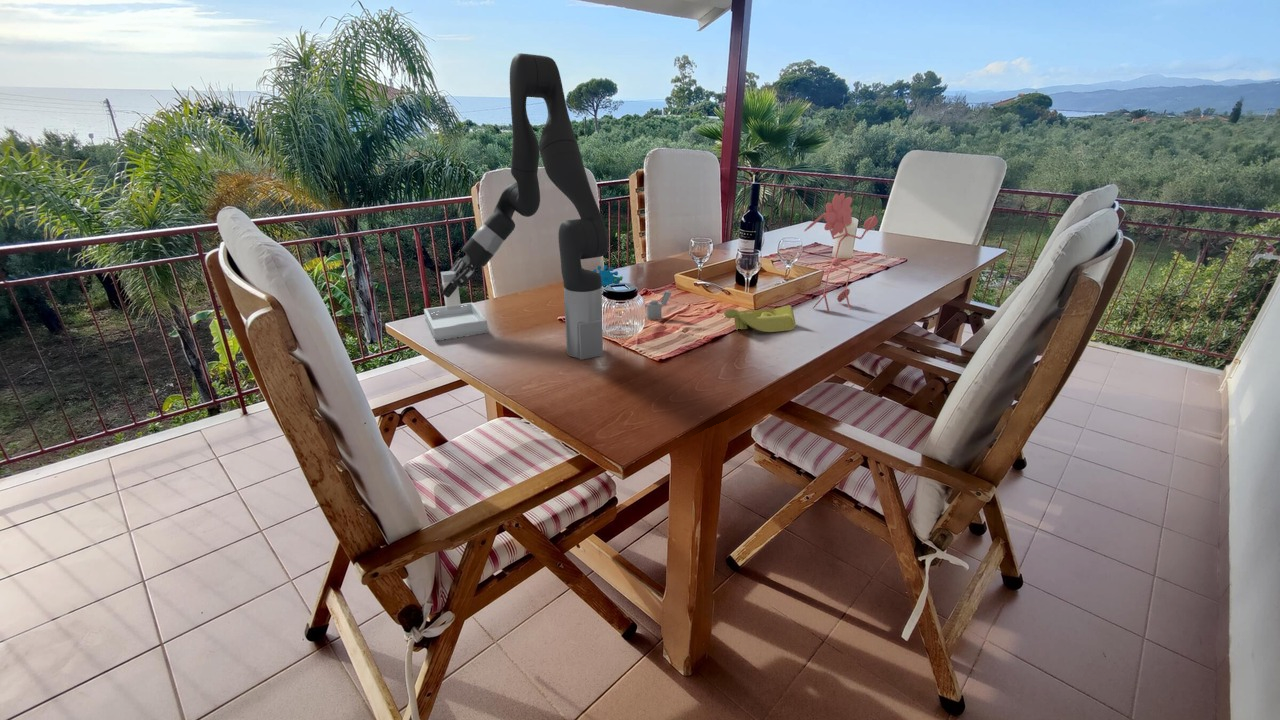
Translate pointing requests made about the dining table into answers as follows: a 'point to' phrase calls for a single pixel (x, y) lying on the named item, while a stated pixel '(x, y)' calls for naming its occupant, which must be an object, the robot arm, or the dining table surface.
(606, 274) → the blue irregular piece
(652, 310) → the lighter
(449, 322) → the parts tray
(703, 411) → the dining table surface
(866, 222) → the pink flower stick figure
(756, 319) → the plastic component
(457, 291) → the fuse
